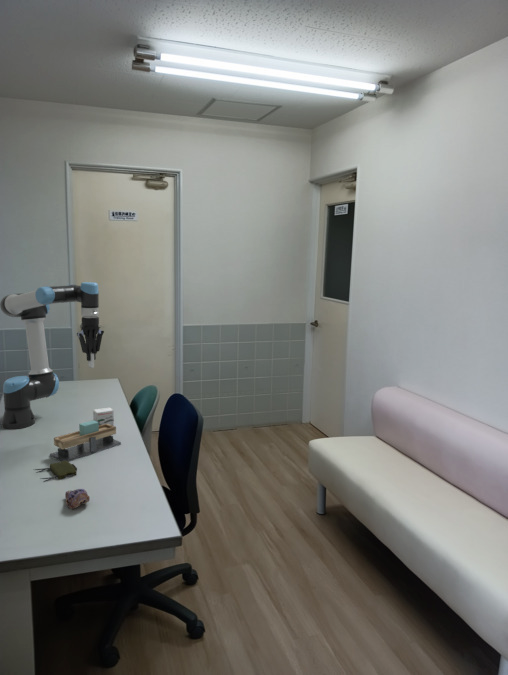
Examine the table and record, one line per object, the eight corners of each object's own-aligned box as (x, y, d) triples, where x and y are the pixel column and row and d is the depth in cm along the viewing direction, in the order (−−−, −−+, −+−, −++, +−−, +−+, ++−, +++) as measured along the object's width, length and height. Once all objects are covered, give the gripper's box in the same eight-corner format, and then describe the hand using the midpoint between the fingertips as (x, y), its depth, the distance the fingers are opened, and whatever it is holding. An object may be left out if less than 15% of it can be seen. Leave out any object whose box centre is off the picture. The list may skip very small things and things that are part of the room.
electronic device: (81, 469, 197) (40, 479, 188) (81, 475, 197) (41, 486, 188) (69, 457, 208) (30, 466, 199) (69, 463, 208) (31, 472, 199)
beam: (53, 444, 213) (53, 437, 212) (106, 429, 233) (106, 423, 232) (63, 449, 208) (63, 442, 208) (116, 433, 228) (116, 427, 228)
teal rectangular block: (79, 434, 220) (79, 423, 219) (93, 431, 225) (93, 420, 224) (84, 437, 217) (84, 426, 217) (98, 433, 223) (98, 422, 222)
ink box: (96, 436, 237) (95, 412, 235) (93, 433, 242) (92, 409, 240) (114, 433, 242) (113, 409, 240) (111, 430, 246) (110, 406, 244)
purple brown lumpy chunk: (60, 499, 178) (59, 483, 177) (82, 493, 182) (81, 477, 181) (70, 514, 168) (69, 497, 167) (93, 507, 173) (92, 491, 172)
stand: (49, 456, 214) (49, 440, 213) (106, 438, 236) (106, 423, 234) (63, 463, 207) (63, 447, 206) (120, 444, 229) (120, 429, 227)
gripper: (81, 318, 221) (83, 371, 226) (107, 316, 231) (108, 366, 236) (72, 316, 226) (74, 368, 230) (98, 314, 236) (98, 363, 240)
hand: (91, 367), depth 233 cm, fingers closed
